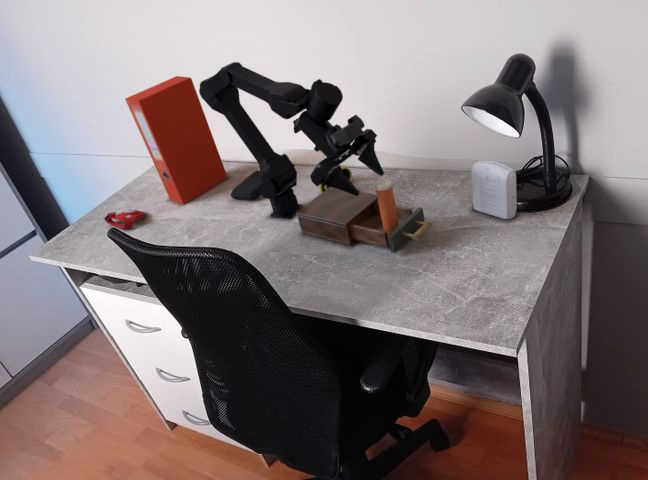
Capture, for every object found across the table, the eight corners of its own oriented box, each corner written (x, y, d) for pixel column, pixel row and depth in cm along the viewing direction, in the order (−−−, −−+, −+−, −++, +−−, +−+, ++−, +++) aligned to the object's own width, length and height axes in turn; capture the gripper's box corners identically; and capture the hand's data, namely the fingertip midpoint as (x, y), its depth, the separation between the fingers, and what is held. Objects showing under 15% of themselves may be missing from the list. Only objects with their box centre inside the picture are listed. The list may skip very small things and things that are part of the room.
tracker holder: (144, 206, 165) (143, 212, 156) (147, 220, 166) (145, 227, 157) (101, 211, 162) (97, 217, 153) (104, 225, 163) (100, 232, 154)
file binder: (228, 178, 172) (190, 77, 153) (184, 204, 163) (138, 100, 144) (213, 174, 177) (175, 76, 158) (170, 199, 168) (124, 98, 149)
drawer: (440, 227, 122) (438, 210, 120) (410, 257, 116) (408, 240, 113) (374, 213, 134) (371, 198, 131) (344, 240, 127) (340, 224, 124)
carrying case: (258, 203, 153) (286, 178, 163) (255, 194, 151) (283, 169, 161) (229, 201, 158) (258, 177, 168) (226, 192, 156) (255, 168, 166)
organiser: (384, 216, 133) (380, 195, 129) (351, 246, 125) (345, 224, 122) (336, 206, 142) (331, 186, 139) (302, 233, 135) (296, 212, 131)
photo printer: (520, 212, 122) (518, 162, 115) (509, 221, 120) (507, 171, 113) (482, 202, 129) (478, 154, 122) (471, 210, 127) (466, 162, 120)
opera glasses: (340, 181, 155) (333, 165, 153) (354, 179, 152) (348, 163, 150) (322, 198, 149) (315, 182, 147) (337, 196, 146) (330, 180, 144)
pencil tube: (381, 233, 123) (371, 187, 116) (388, 224, 126) (379, 178, 119) (395, 235, 122) (387, 187, 115) (402, 226, 124) (394, 179, 117)
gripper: (306, 128, 108) (361, 185, 107) (362, 92, 118) (411, 144, 118) (289, 160, 117) (339, 212, 117) (342, 124, 127) (388, 172, 127)
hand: (370, 184), depth 119 cm, fingers open, 9 cm apart
